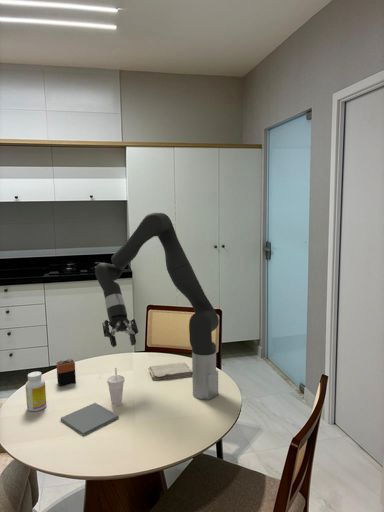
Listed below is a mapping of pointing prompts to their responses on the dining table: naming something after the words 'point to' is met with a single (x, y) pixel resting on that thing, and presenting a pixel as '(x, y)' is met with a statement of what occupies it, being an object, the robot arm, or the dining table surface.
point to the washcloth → (169, 371)
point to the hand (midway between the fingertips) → (124, 345)
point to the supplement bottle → (35, 392)
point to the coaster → (89, 418)
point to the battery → (66, 372)
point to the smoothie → (116, 388)
